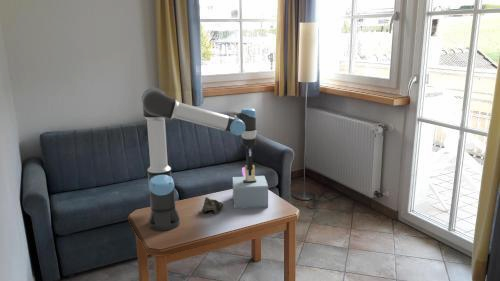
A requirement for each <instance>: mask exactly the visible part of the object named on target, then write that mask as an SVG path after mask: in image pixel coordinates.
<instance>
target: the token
mask: <svg viewBox="0 0 500 281" xmlns="http://www.w3.org/2000/svg"><path fill="white" fill-rule="evenodd" d="M244 167H245V180H246V181H247V170H246V169H247V168H248V165H247V164H246V165H244ZM255 169H256V168H255V165H254V164H253V170H252V178H253V181H255V176H256V173H255V172H256V170H255Z"/></svg>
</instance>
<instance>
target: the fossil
mask: <svg viewBox="0 0 500 281" xmlns="http://www.w3.org/2000/svg"><path fill="white" fill-rule="evenodd" d="M223 207H224V203H223V202H222V201H218V200H217V199H213V198H210V197H208V196H206V197H205V198H204V202H203V206H202V209H201V212H202V213H203V214H205V213H206V212H207V211H211V210H212V211H213V213H214V214H215V215H218V214H220V211H222V210H223Z"/></svg>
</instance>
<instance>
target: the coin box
mask: <svg viewBox="0 0 500 281" xmlns="http://www.w3.org/2000/svg"><path fill="white" fill-rule="evenodd" d="M232 199H233V205H234V206H233V208H234V209H252V208H256V209H257V208H268V207H269V185H268V182H267V179H266V177H265V175H255V181H246V180H245V177H242V176H233V177H232Z"/></svg>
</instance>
